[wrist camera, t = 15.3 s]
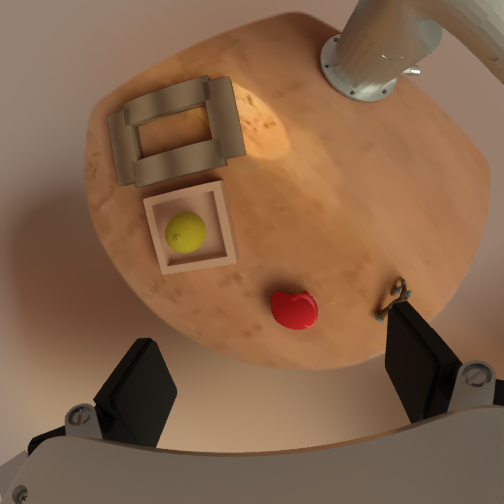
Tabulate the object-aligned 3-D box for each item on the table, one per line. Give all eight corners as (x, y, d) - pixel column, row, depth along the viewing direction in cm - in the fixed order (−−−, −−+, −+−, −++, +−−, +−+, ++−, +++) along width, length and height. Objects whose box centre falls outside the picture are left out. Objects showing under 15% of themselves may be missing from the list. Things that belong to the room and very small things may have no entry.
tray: (223, 180, 40) (219, 180, 37) (239, 256, 43) (237, 263, 40) (151, 197, 41) (143, 199, 38) (168, 268, 44) (162, 274, 41)
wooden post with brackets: (410, 278, 41) (415, 297, 38) (381, 304, 46) (382, 323, 43) (403, 273, 41) (408, 292, 38) (374, 301, 46) (375, 320, 43)
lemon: (212, 209, 40) (198, 218, 32) (211, 245, 42) (197, 262, 34) (176, 207, 40) (156, 215, 33) (176, 243, 42) (156, 258, 34)
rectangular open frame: (230, 75, 35) (227, 70, 33) (247, 161, 39) (246, 160, 36) (114, 113, 38) (107, 110, 35) (127, 191, 41) (120, 192, 39)
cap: (329, 297, 40) (302, 293, 37) (319, 335, 40) (291, 334, 37) (295, 288, 47) (268, 283, 44) (286, 321, 47) (259, 319, 44)
